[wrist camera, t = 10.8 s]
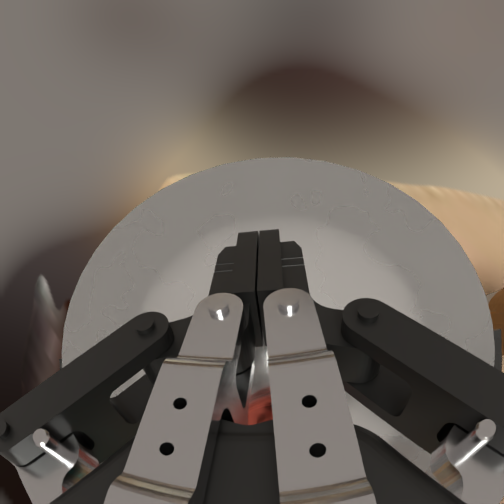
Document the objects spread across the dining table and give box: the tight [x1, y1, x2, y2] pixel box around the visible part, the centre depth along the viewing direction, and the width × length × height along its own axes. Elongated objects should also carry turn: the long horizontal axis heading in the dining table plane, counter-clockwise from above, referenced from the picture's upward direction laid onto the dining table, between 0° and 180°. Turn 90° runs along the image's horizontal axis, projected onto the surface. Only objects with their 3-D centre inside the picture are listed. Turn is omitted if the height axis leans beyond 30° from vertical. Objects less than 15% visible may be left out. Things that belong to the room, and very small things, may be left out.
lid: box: [62, 157, 495, 485], centre depth 12 cm, size 23×24×3 cm
